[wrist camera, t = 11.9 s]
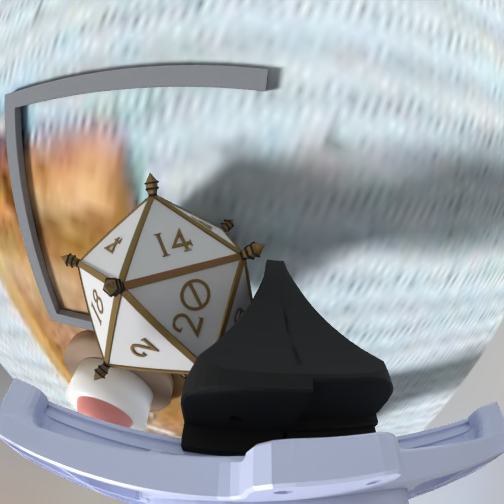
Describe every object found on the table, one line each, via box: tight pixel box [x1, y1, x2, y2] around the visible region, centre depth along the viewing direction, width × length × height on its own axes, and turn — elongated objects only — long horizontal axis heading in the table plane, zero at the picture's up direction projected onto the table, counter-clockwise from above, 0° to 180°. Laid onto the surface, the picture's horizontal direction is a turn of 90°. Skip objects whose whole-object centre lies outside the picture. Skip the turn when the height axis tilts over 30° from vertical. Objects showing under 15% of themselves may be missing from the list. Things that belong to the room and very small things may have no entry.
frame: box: [5, 65, 268, 331], centre depth 15 cm, size 17×15×1 cm
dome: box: [66, 358, 153, 431], centre depth 18 cm, size 7×7×5 cm
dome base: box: [64, 330, 174, 412], centre depth 21 cm, size 10×10×2 cm
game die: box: [61, 173, 265, 380], centre depth 12 cm, size 9×8×10 cm
